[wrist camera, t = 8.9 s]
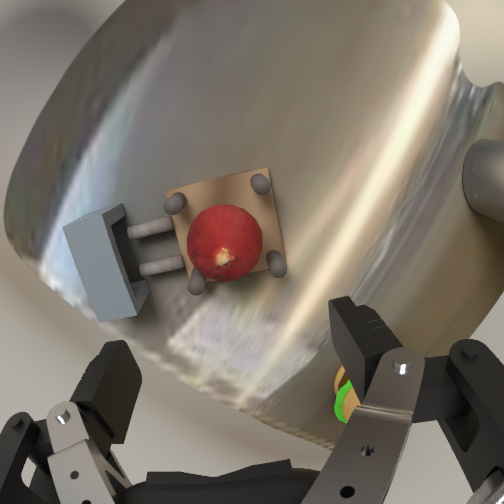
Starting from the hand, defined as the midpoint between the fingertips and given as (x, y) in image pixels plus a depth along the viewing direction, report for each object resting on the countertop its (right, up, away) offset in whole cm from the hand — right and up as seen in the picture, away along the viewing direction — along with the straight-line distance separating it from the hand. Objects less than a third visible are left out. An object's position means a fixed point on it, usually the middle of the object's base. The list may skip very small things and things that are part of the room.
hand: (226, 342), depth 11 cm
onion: (-1, +5, +16) cm, 17 cm away
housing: (-12, +3, +17) cm, 21 cm away
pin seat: (-3, +5, +17) cm, 18 cm away
